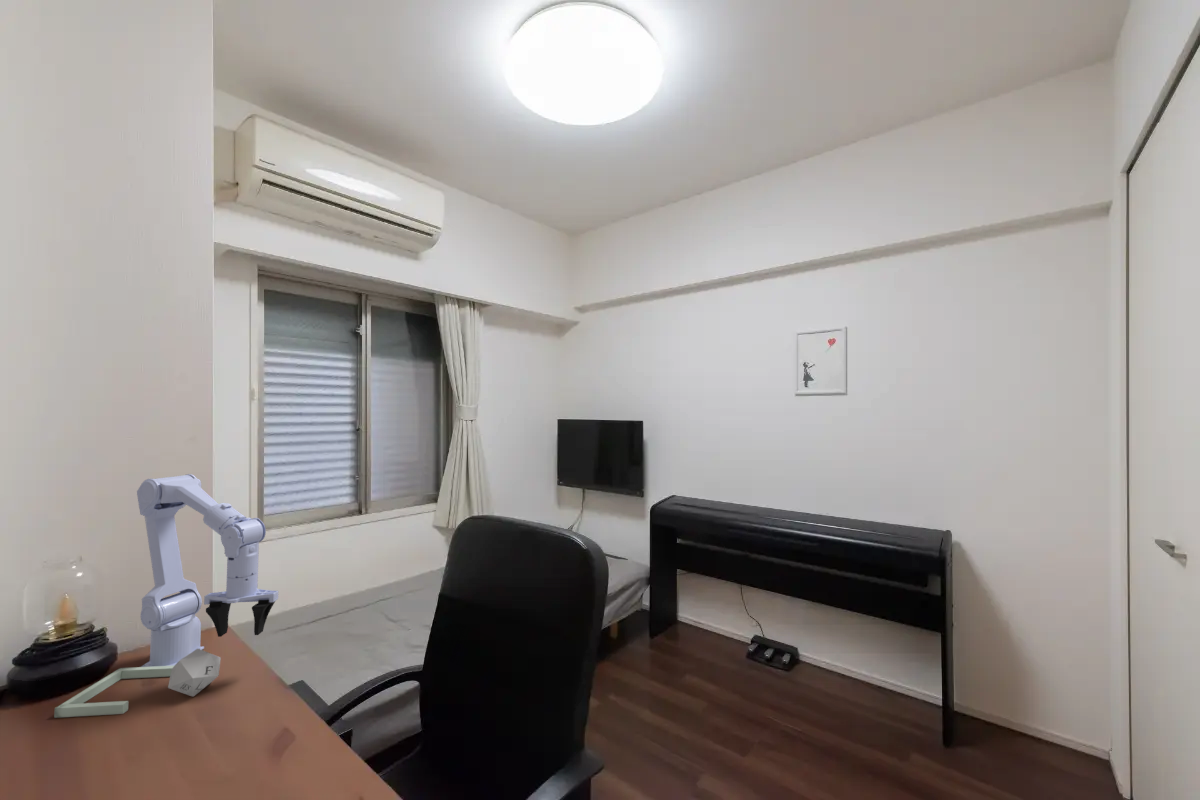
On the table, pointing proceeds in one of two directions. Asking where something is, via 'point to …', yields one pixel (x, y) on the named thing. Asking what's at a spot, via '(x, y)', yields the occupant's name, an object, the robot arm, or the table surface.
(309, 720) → the table surface
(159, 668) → the bay
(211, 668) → the die
